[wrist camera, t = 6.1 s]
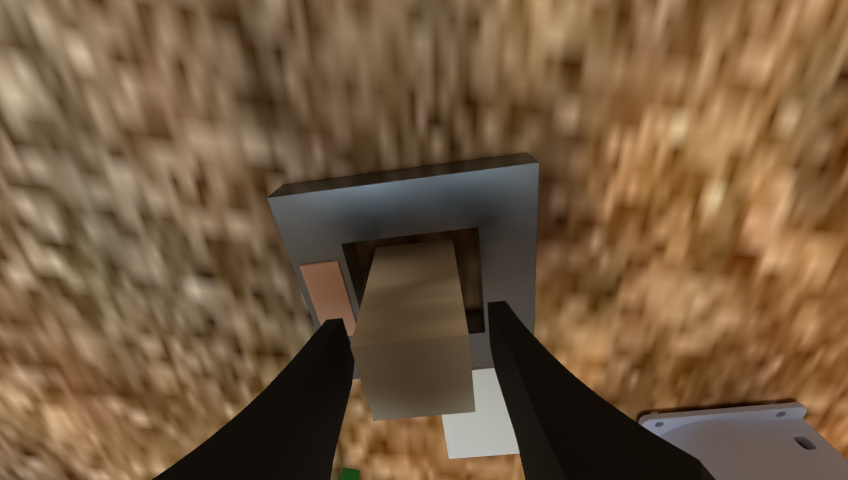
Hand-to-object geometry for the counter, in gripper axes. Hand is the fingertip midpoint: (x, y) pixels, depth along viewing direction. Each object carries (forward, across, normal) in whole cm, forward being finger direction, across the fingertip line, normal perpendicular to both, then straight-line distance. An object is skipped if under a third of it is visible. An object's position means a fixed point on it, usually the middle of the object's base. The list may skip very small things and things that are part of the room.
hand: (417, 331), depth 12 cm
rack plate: (+4, 0, 0) cm, 4 cm away
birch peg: (+4, 0, 0) cm, 4 cm away
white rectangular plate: (+4, -3, +10) cm, 11 cm away
